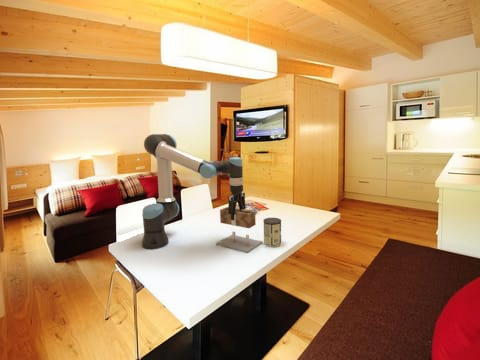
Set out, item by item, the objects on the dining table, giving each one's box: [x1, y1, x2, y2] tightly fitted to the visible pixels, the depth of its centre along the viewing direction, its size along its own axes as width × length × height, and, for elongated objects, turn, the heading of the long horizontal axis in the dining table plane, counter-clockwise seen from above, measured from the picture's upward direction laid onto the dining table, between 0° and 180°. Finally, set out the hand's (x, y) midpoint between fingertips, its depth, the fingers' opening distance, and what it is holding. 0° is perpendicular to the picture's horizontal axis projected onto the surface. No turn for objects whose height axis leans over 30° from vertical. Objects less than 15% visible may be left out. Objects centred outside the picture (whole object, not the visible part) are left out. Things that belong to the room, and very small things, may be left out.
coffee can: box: [263, 217, 282, 248], centre depth 156 cm, size 10×10×14 cm
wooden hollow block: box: [219, 206, 256, 229], centre depth 155 cm, size 20×7×8 cm, turn 56°
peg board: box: [215, 231, 263, 254], centre depth 157 cm, size 22×16×6 cm
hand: (237, 223), depth 156 cm, fingers closed on wooden hollow block, 7 cm apart
